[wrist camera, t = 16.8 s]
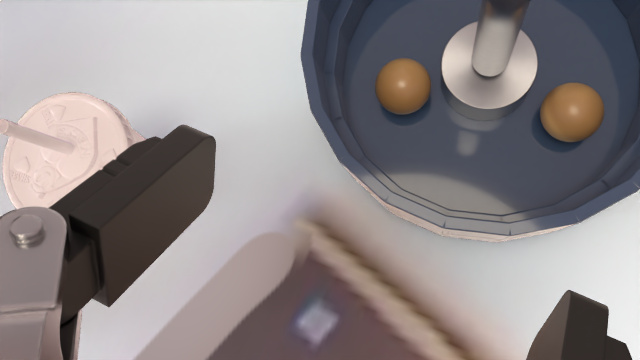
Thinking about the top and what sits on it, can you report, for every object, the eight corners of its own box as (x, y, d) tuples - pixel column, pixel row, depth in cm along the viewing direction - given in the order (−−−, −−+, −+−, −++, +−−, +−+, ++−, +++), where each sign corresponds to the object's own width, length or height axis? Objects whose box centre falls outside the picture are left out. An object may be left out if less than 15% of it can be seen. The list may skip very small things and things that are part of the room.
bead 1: (380, 57, 33) (370, 58, 30) (434, 57, 32) (429, 58, 29) (379, 110, 34) (370, 117, 31) (432, 112, 33) (427, 118, 30)
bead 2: (525, 92, 31) (566, 66, 28) (570, 102, 32) (614, 78, 29) (529, 145, 30) (572, 124, 27) (576, 154, 31) (622, 134, 28)
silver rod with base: (432, 48, 33) (430, -200, 16) (518, 27, 32) (618, -259, 15) (450, 129, 32) (471, -39, 15) (540, 109, 32) (673, -92, 14)
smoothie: (230, 179, 35) (102, 120, 21) (163, 263, 35) (-8, 257, 21) (156, 117, 37) (-8, 25, 23) (92, 197, 37) (-110, 153, 23)
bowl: (302, -22, 36) (274, -84, 30) (606, -104, 33) (646, -192, 27) (358, 269, 33) (340, 269, 27) (701, 204, 30) (772, 186, 24)
